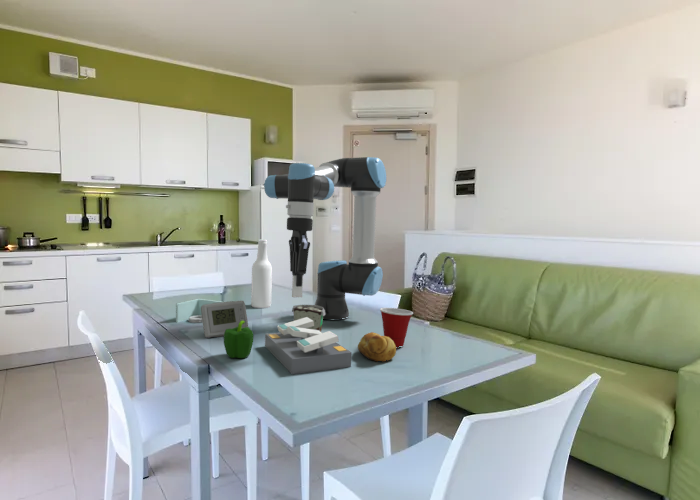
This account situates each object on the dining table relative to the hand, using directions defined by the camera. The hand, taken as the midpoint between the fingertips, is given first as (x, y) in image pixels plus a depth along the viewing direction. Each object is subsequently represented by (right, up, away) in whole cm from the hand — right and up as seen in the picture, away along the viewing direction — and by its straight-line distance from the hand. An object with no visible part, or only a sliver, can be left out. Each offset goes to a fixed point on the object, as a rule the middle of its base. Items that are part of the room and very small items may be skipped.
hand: (297, 296), depth 128 cm
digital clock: (-27, -15, +19) cm, 36 cm away
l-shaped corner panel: (-41, -14, +36) cm, 56 cm away
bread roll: (+23, -18, +1) cm, 30 cm away
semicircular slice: (+2, -16, +22) cm, 27 cm away
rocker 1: (-1, -10, +7) cm, 12 cm away
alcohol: (-24, -12, +66) cm, 71 cm away
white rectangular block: (+7, -11, -9) cm, 16 cm away
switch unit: (+3, -17, -1) cm, 17 cm away
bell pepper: (-16, -17, -4) cm, 24 cm away
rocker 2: (+3, -10, -1) cm, 11 cm away
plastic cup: (+30, -18, +13) cm, 37 cm away
